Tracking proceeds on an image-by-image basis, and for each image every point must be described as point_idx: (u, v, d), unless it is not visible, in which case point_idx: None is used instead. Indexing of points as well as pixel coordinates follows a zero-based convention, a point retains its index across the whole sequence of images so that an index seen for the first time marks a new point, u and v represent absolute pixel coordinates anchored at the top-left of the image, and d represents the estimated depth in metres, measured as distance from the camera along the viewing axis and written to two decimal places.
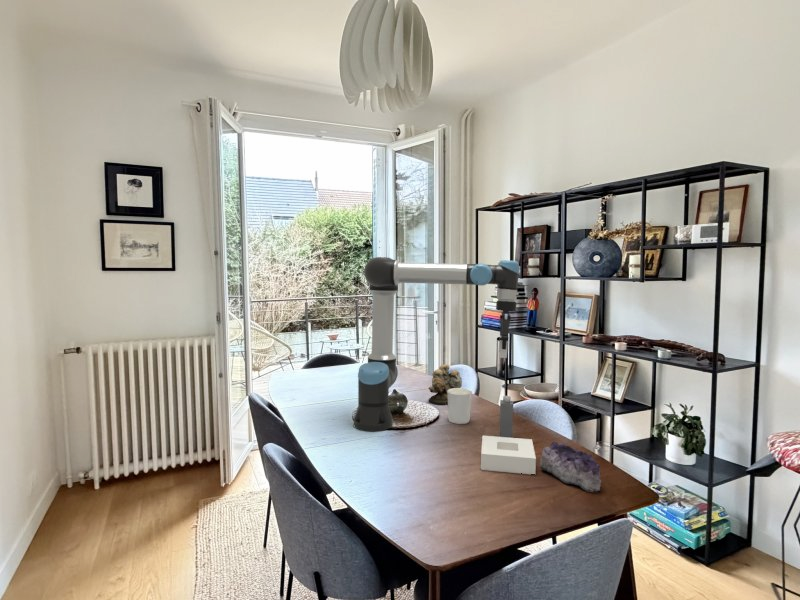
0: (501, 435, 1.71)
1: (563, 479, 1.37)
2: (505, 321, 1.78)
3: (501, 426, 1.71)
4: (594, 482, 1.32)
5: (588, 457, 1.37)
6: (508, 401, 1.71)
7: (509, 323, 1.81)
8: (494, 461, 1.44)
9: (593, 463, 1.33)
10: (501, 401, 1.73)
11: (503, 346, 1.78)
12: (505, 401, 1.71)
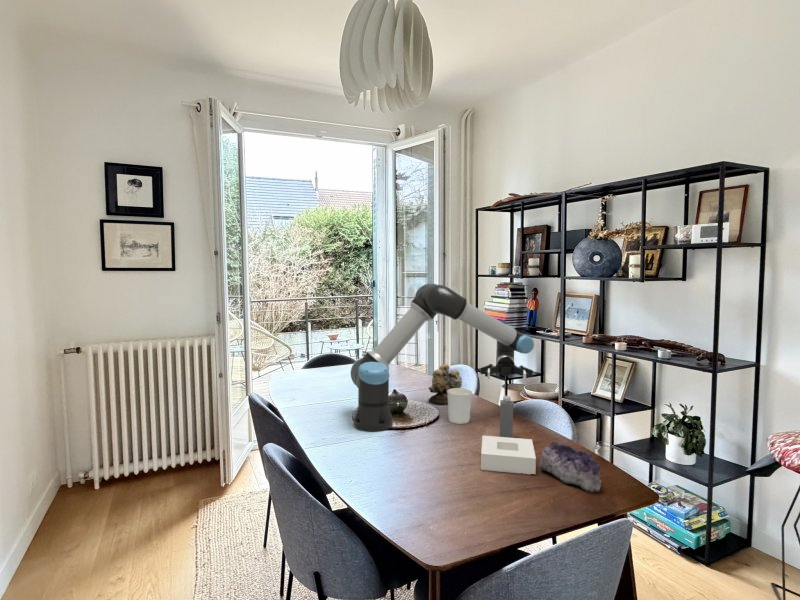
0: (501, 435, 1.71)
1: (563, 479, 1.37)
2: None
3: (501, 426, 1.71)
4: (594, 482, 1.32)
5: (588, 457, 1.37)
6: (508, 401, 1.71)
7: (515, 373, 1.95)
8: (494, 461, 1.44)
9: (593, 463, 1.33)
10: (501, 401, 1.73)
11: (528, 374, 1.86)
12: (505, 401, 1.71)
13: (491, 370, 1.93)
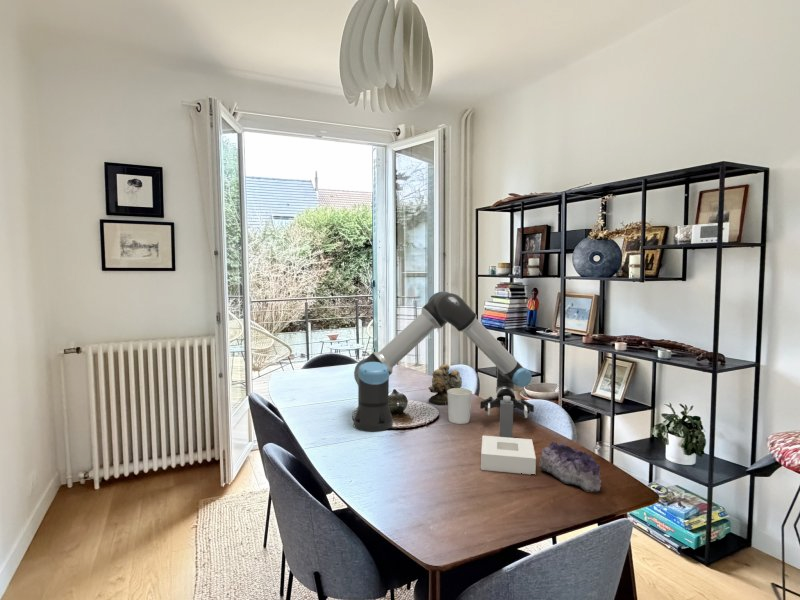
0: (501, 435, 1.71)
1: (563, 479, 1.37)
2: None
3: (501, 426, 1.71)
4: (594, 482, 1.32)
5: (588, 457, 1.37)
6: (508, 401, 1.71)
7: None
8: (494, 461, 1.44)
9: (593, 463, 1.32)
10: (501, 401, 1.73)
11: (529, 410, 1.81)
12: (505, 401, 1.71)
13: (491, 404, 1.88)
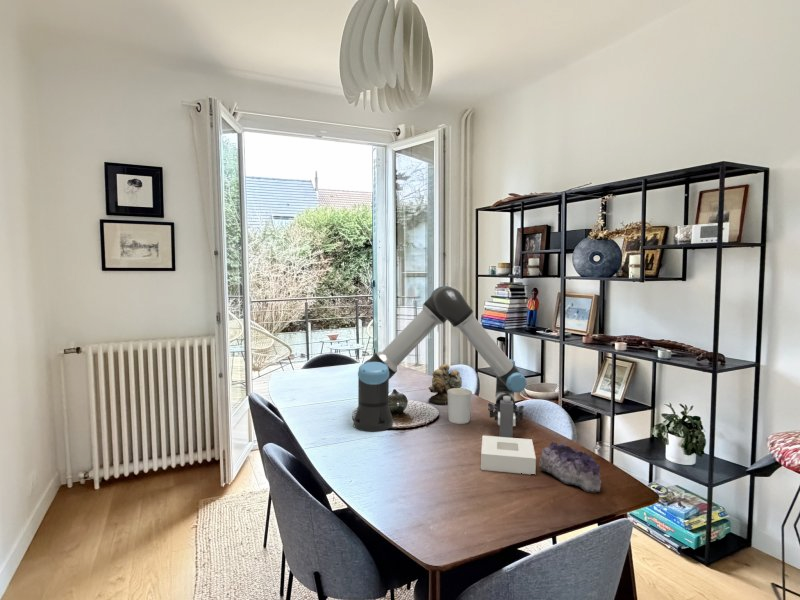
0: (501, 435, 1.71)
1: (563, 480, 1.37)
2: None
3: (501, 426, 1.71)
4: (594, 482, 1.32)
5: (588, 457, 1.37)
6: (508, 401, 1.71)
7: None
8: (494, 461, 1.44)
9: (593, 463, 1.32)
10: (501, 401, 1.73)
11: (518, 418, 1.71)
12: (505, 401, 1.71)
13: None
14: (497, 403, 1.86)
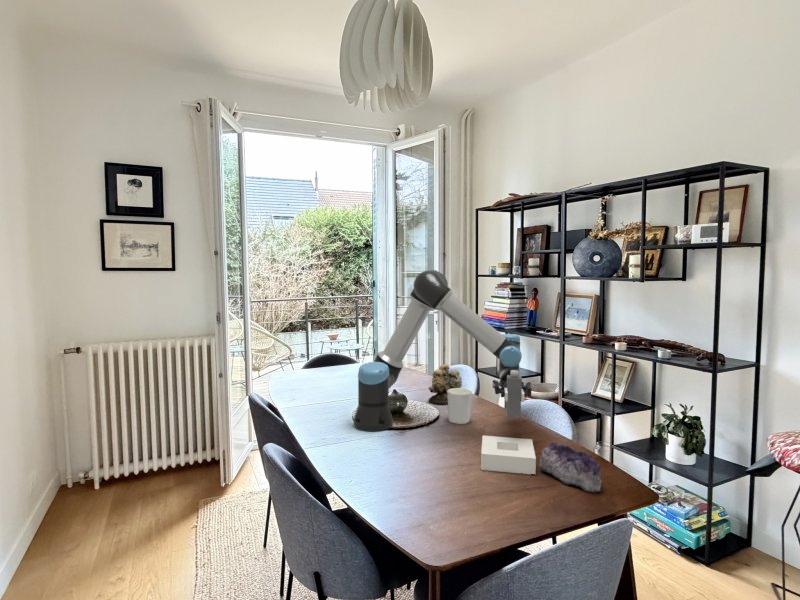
0: (508, 412, 1.57)
1: (563, 480, 1.37)
2: None
3: (508, 403, 1.57)
4: (595, 482, 1.32)
5: (588, 457, 1.37)
6: (516, 375, 1.57)
7: None
8: (494, 461, 1.44)
9: (593, 463, 1.32)
10: (508, 376, 1.59)
11: (526, 394, 1.57)
12: (512, 375, 1.57)
13: None
14: (502, 380, 1.72)
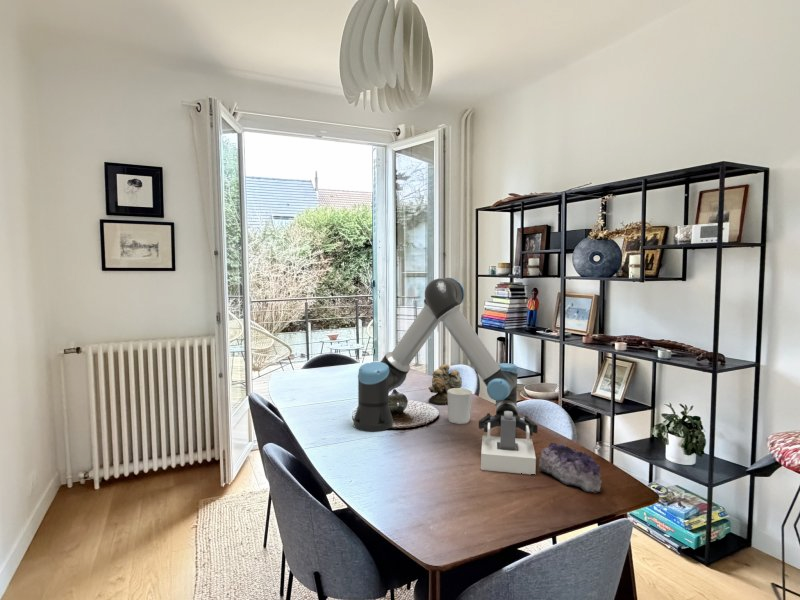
0: None
1: (563, 480, 1.36)
2: None
3: (502, 446, 1.49)
4: (595, 483, 1.31)
5: (588, 458, 1.37)
6: (510, 417, 1.49)
7: None
8: (494, 461, 1.44)
9: (593, 464, 1.32)
10: (502, 417, 1.51)
11: None
12: (506, 417, 1.50)
13: (491, 424, 1.57)
14: (498, 414, 1.64)
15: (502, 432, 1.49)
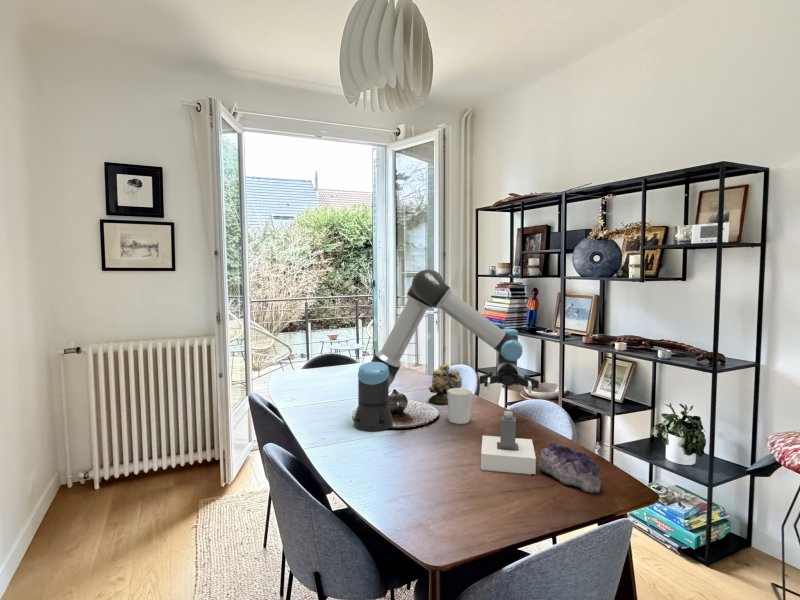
0: None
1: (562, 481, 1.36)
2: None
3: (502, 446, 1.49)
4: (594, 483, 1.31)
5: (587, 458, 1.36)
6: (510, 417, 1.49)
7: None
8: (494, 461, 1.44)
9: (593, 464, 1.32)
10: (502, 417, 1.51)
11: (534, 386, 1.62)
12: (506, 417, 1.50)
13: (491, 379, 1.69)
14: (500, 373, 1.76)
15: (502, 432, 1.49)
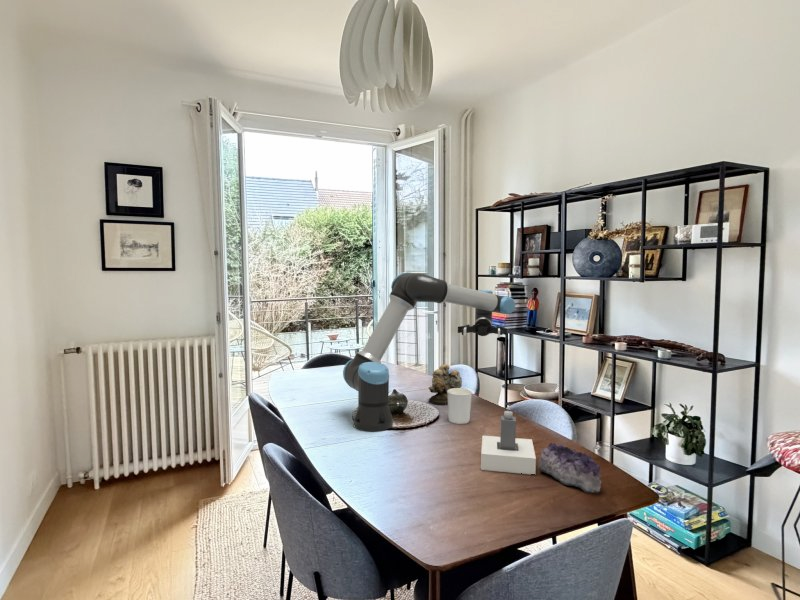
0: None
1: (563, 481, 1.36)
2: None
3: (502, 446, 1.49)
4: (595, 483, 1.31)
5: (587, 458, 1.36)
6: (510, 417, 1.49)
7: (491, 333, 2.03)
8: (494, 461, 1.44)
9: (593, 464, 1.32)
10: (502, 417, 1.51)
11: (502, 332, 1.94)
12: (506, 417, 1.50)
13: (468, 329, 2.00)
14: (476, 325, 2.07)
15: (502, 432, 1.49)
